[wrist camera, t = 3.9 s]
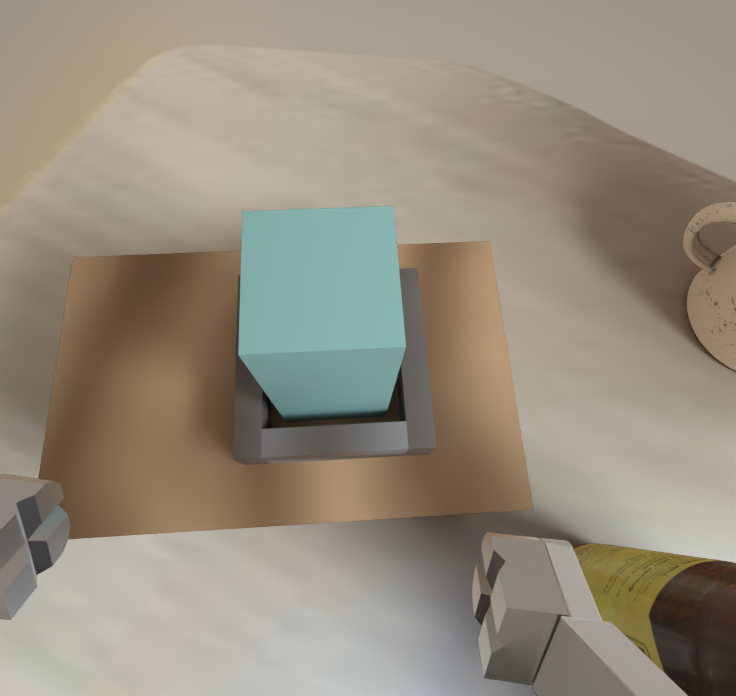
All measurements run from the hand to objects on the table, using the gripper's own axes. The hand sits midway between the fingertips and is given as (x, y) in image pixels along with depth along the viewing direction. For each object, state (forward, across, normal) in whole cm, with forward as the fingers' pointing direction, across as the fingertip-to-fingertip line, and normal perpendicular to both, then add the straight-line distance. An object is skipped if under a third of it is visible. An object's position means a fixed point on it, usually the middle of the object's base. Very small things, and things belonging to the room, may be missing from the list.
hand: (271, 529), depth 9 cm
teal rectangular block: (+11, 0, +2) cm, 11 cm away
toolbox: (+18, +2, +10) cm, 20 cm away
